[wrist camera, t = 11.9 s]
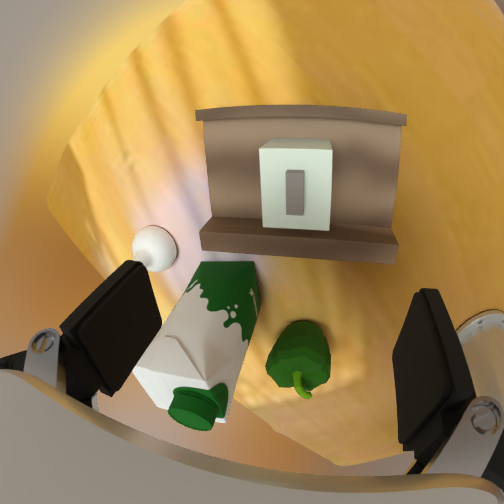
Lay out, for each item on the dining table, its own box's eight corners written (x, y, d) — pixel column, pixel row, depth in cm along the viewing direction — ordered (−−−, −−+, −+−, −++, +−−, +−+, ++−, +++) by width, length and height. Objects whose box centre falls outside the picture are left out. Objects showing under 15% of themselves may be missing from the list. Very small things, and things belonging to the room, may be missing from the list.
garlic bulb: (189, 249, 37) (164, 282, 30) (160, 271, 39) (135, 304, 32) (158, 213, 35) (126, 239, 28) (132, 238, 38) (100, 266, 31)
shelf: (381, 230, 29) (394, 264, 23) (224, 220, 33) (202, 250, 27) (392, 112, 22) (414, 115, 17) (214, 108, 26) (185, 111, 21)
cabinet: (329, 139, 22) (333, 152, 17) (327, 203, 25) (329, 236, 20) (272, 138, 24) (255, 150, 18) (274, 200, 27) (260, 232, 21)
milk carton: (268, 310, 38) (227, 445, 21) (207, 307, 41) (146, 423, 24) (260, 254, 34) (200, 400, 17) (192, 255, 36) (105, 374, 20)
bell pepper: (265, 320, 39) (248, 376, 31) (319, 306, 36) (314, 366, 28) (288, 356, 42) (278, 409, 34) (338, 345, 39) (336, 402, 30)
